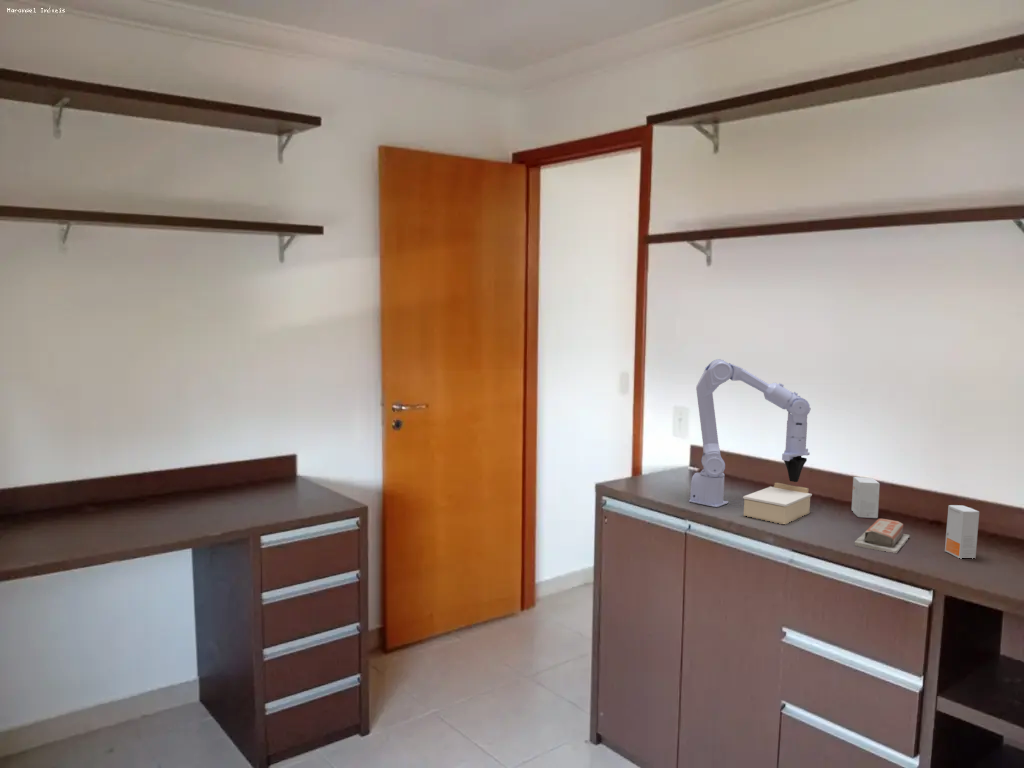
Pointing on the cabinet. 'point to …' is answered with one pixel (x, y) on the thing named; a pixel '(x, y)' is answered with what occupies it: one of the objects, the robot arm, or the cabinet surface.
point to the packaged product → (883, 536)
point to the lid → (780, 494)
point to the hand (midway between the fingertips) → (793, 481)
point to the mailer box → (776, 511)
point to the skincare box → (962, 531)
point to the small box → (865, 497)
